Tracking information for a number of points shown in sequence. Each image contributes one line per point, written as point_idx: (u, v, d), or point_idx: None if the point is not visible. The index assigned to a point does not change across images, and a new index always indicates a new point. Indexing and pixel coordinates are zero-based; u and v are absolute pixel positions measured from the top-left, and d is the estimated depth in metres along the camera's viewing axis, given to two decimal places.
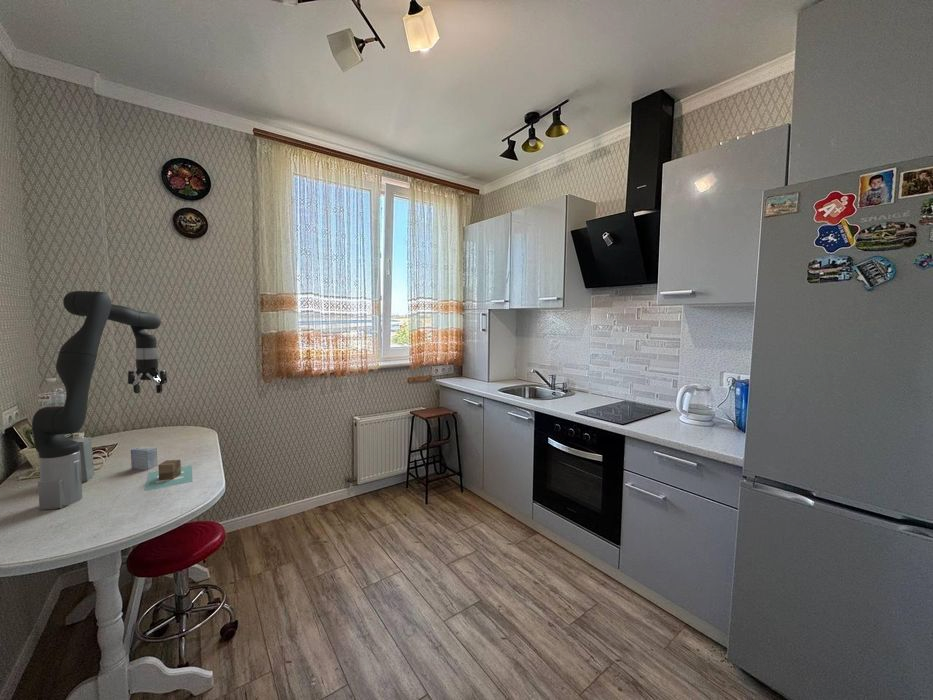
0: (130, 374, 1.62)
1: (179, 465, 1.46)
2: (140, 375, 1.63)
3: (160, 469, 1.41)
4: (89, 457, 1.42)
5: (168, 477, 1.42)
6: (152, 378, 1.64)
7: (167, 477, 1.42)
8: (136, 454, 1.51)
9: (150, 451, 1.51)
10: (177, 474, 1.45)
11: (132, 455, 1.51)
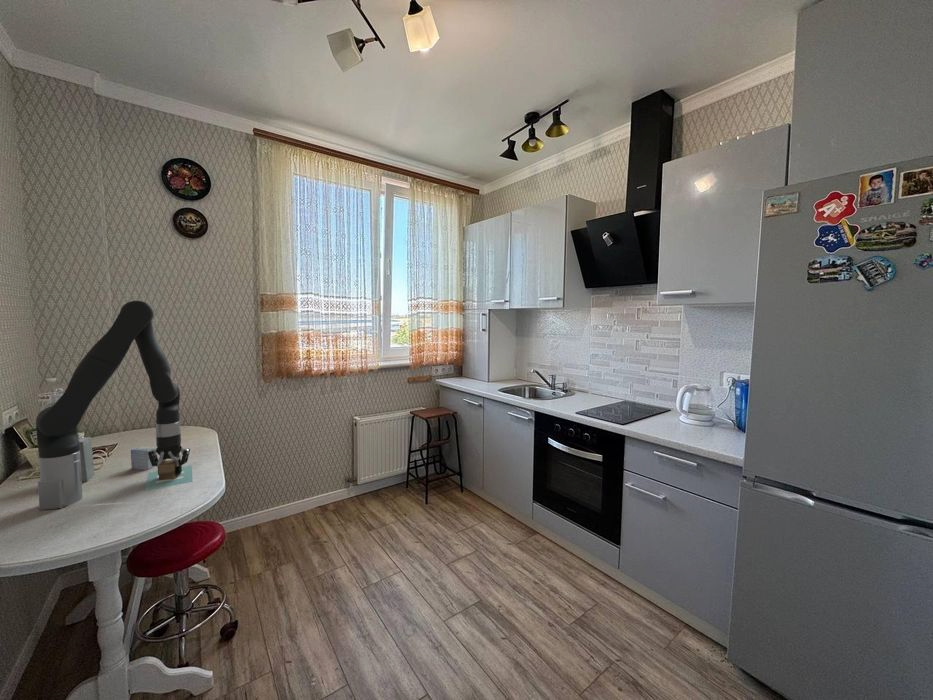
0: (151, 455, 1.42)
1: None
2: (162, 454, 1.42)
3: (160, 469, 1.41)
4: (89, 457, 1.42)
5: (168, 477, 1.42)
6: (173, 458, 1.43)
7: (167, 477, 1.42)
8: (136, 454, 1.51)
9: None
10: None
11: (132, 455, 1.51)
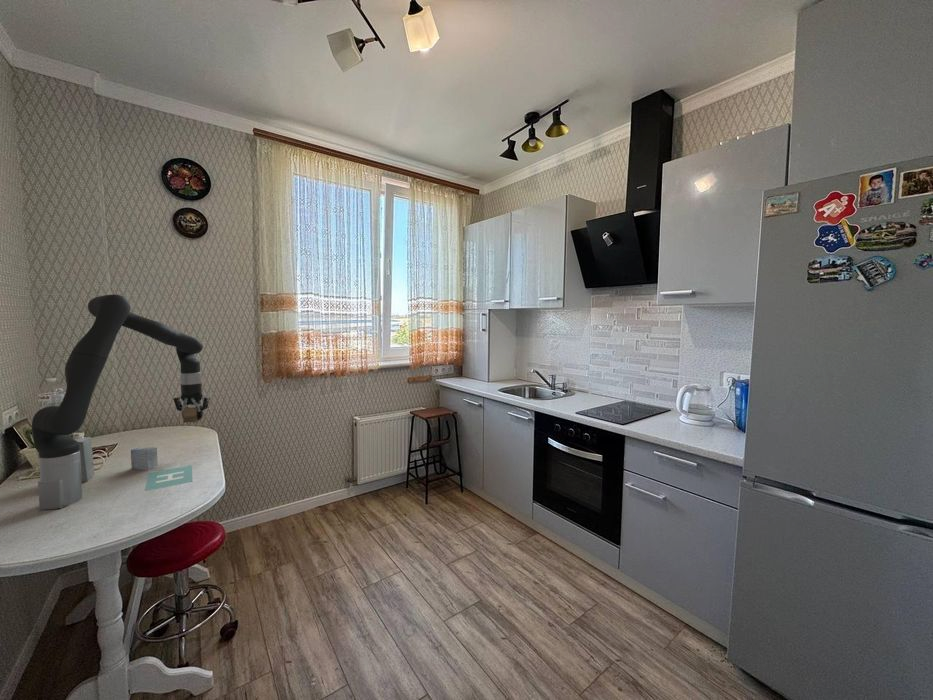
0: (176, 401, 1.62)
1: None
2: (185, 400, 1.62)
3: (184, 413, 1.62)
4: (89, 457, 1.42)
5: (191, 420, 1.62)
6: (195, 404, 1.63)
7: (190, 420, 1.62)
8: (136, 454, 1.51)
9: (150, 451, 1.51)
10: None
11: (132, 455, 1.51)
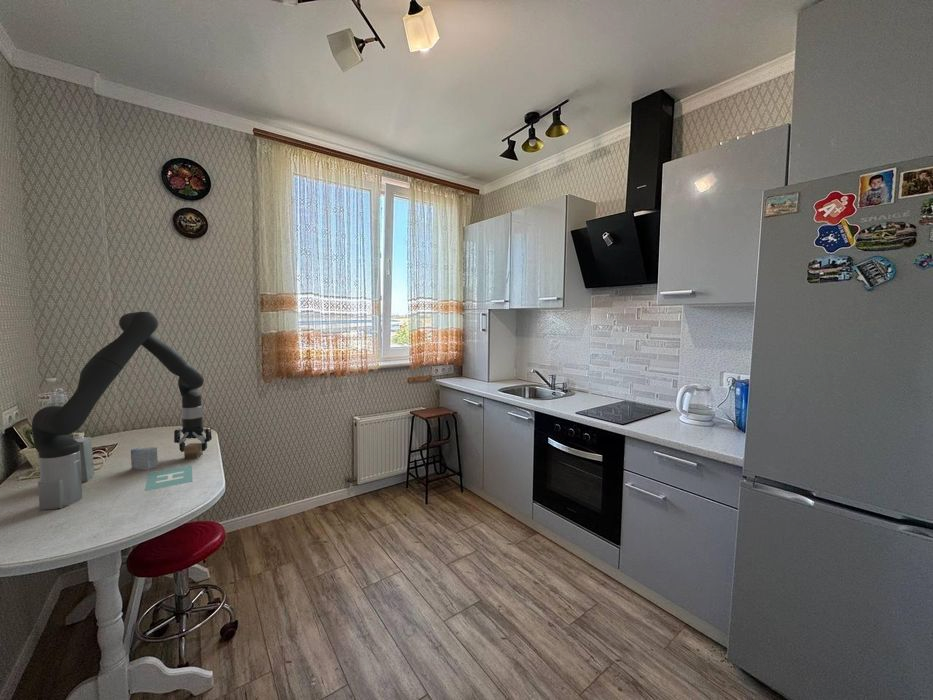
0: (176, 433, 1.63)
1: (201, 447, 1.68)
2: (186, 434, 1.63)
3: (185, 450, 1.63)
4: (89, 457, 1.42)
5: (192, 457, 1.64)
6: (198, 436, 1.65)
7: (191, 457, 1.64)
8: (136, 454, 1.51)
9: (150, 451, 1.51)
10: (200, 455, 1.67)
11: (132, 455, 1.51)
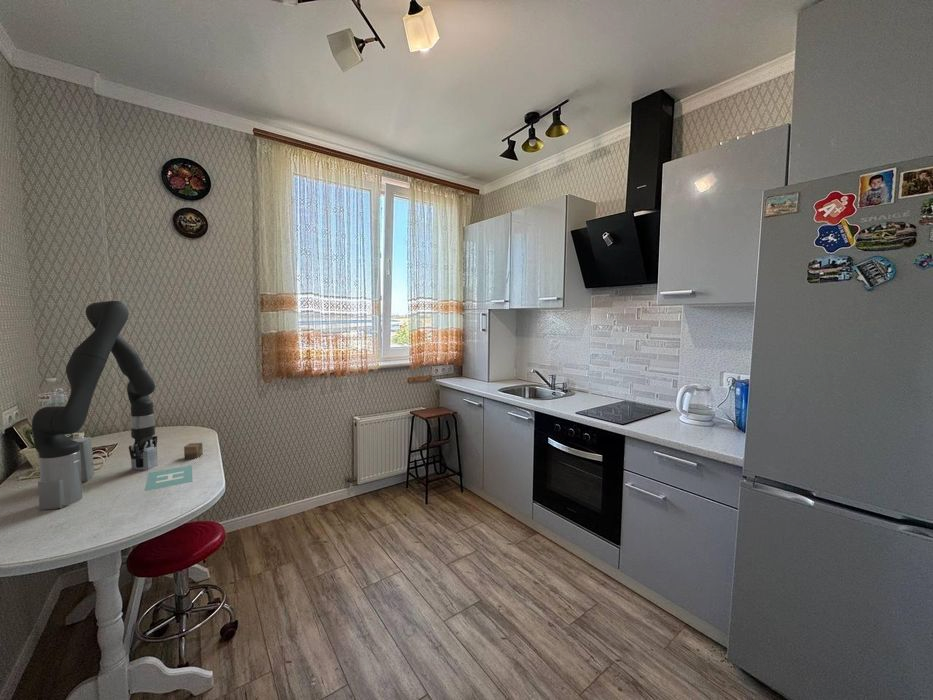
0: None
1: (201, 447, 1.68)
2: None
3: (185, 450, 1.63)
4: (89, 457, 1.42)
5: (192, 457, 1.64)
6: None
7: (191, 457, 1.64)
8: None
9: (150, 451, 1.51)
10: (200, 455, 1.67)
11: None
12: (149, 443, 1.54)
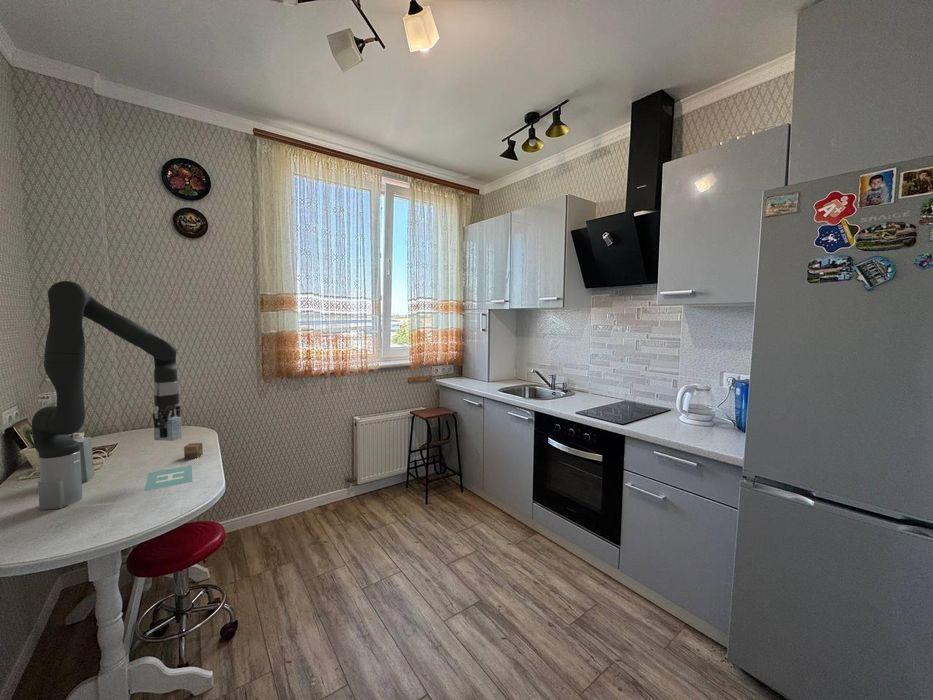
0: None
1: (201, 447, 1.68)
2: None
3: (185, 450, 1.63)
4: (89, 457, 1.42)
5: (192, 457, 1.64)
6: None
7: (191, 457, 1.64)
8: None
9: (174, 420, 1.42)
10: (200, 455, 1.67)
11: None
12: (173, 412, 1.44)
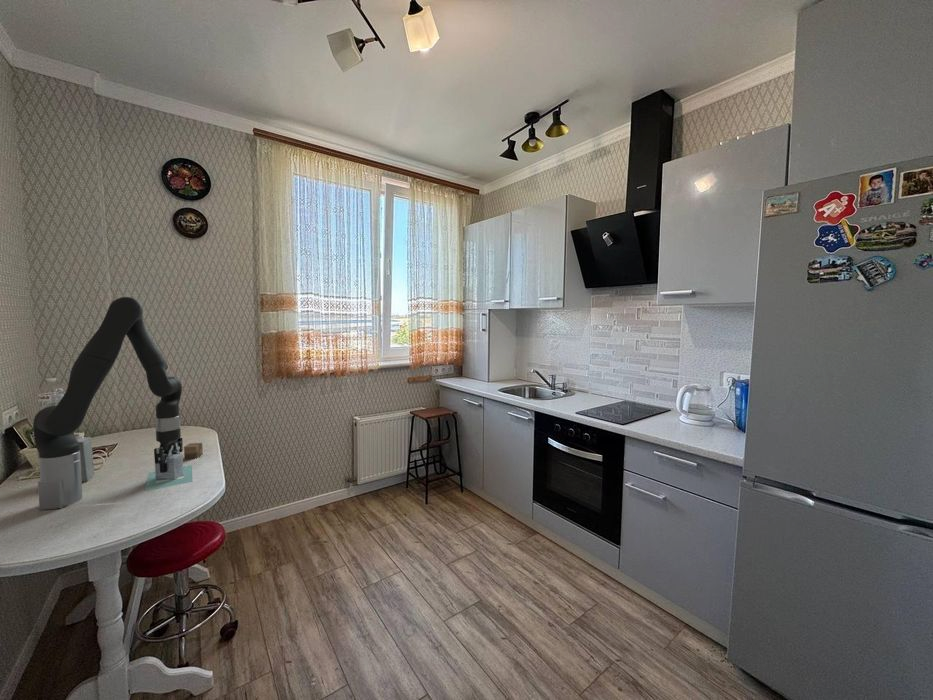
0: None
1: (201, 447, 1.68)
2: None
3: (185, 450, 1.63)
4: (89, 457, 1.42)
5: (192, 457, 1.64)
6: None
7: (191, 457, 1.64)
8: None
9: (176, 458, 1.43)
10: (200, 455, 1.67)
11: None
12: (175, 447, 1.45)
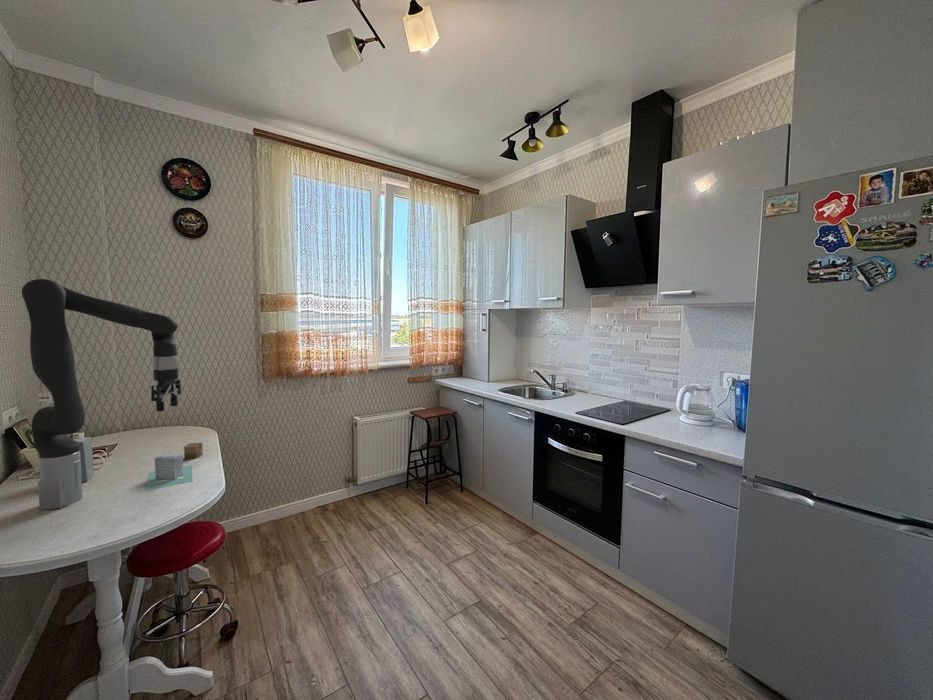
0: None
1: (201, 447, 1.68)
2: None
3: (185, 450, 1.63)
4: (89, 457, 1.42)
5: (192, 457, 1.64)
6: None
7: (191, 457, 1.64)
8: (160, 463, 1.42)
9: (176, 458, 1.43)
10: (200, 455, 1.67)
11: (156, 463, 1.42)
12: (173, 388, 1.43)
